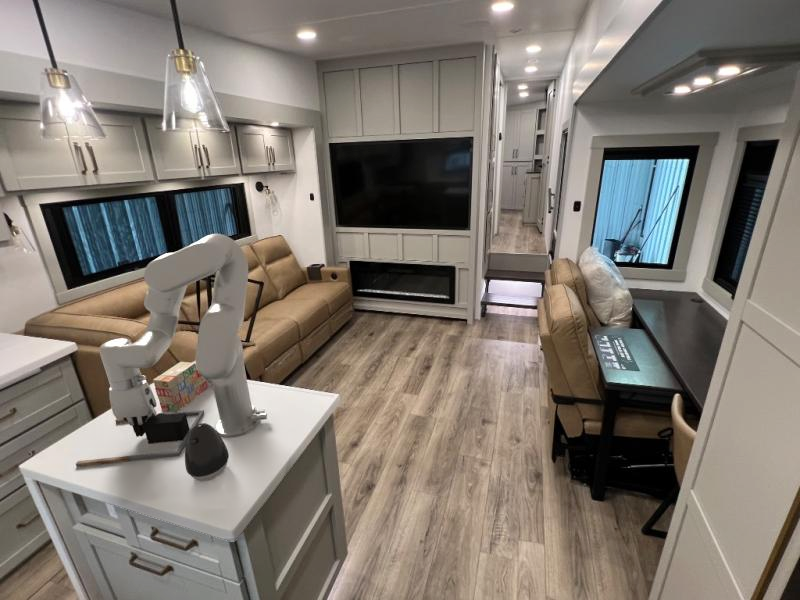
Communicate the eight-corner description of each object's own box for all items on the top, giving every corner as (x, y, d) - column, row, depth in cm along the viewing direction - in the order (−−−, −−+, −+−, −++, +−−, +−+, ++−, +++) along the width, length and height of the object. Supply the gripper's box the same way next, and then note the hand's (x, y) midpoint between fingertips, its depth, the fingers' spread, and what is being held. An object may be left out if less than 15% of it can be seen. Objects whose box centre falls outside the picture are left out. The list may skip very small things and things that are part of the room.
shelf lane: (163, 417, 125) (162, 414, 125) (130, 461, 106) (129, 457, 106) (117, 421, 124) (116, 418, 123) (76, 467, 105) (75, 463, 105)
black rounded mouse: (181, 490, 96) (167, 441, 91) (198, 460, 106) (187, 414, 101) (223, 486, 97) (211, 438, 92) (236, 457, 107) (226, 411, 102)
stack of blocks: (205, 377, 148) (198, 349, 144) (219, 379, 147) (212, 350, 143) (161, 410, 129) (152, 379, 125) (176, 413, 127) (168, 381, 123)
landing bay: (204, 413, 127) (204, 410, 126) (179, 456, 108) (178, 452, 107) (163, 417, 125) (162, 414, 125) (130, 461, 106) (129, 457, 106)
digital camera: (192, 428, 119) (187, 410, 117) (185, 440, 114) (180, 421, 112) (157, 432, 118) (151, 413, 116) (148, 444, 113) (142, 424, 111)
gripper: (159, 372, 113) (173, 423, 119) (105, 376, 112) (122, 427, 118) (147, 385, 106) (162, 439, 112) (89, 390, 105) (108, 444, 111)
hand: (141, 433), depth 115 cm, fingers closed
